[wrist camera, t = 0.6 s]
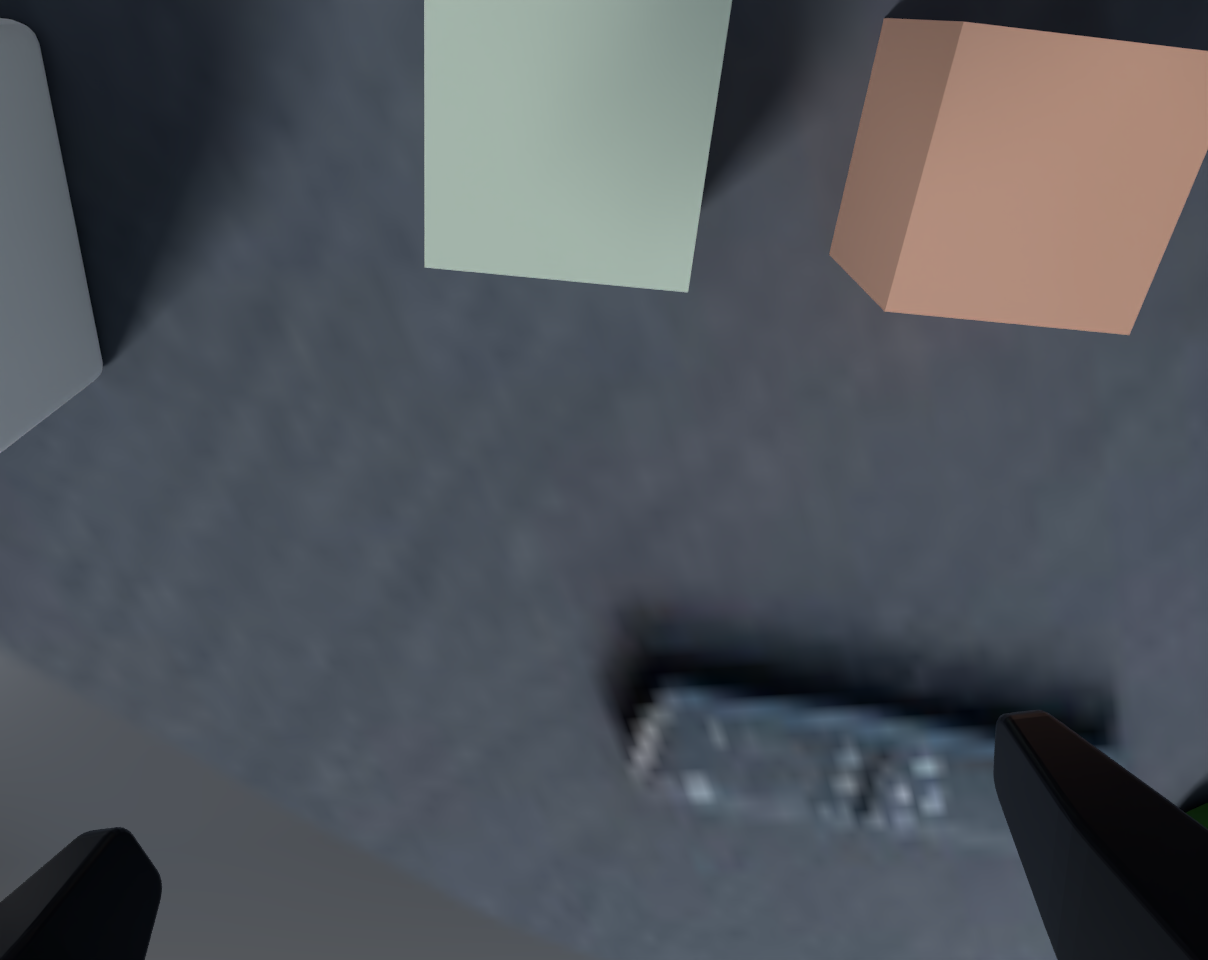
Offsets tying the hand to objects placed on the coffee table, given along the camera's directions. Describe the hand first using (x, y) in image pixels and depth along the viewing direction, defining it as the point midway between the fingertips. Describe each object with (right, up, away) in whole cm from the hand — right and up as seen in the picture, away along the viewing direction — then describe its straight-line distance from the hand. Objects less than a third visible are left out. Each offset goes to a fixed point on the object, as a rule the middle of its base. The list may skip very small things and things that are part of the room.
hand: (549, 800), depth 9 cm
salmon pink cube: (+8, +10, +9) cm, 15 cm away
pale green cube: (0, +11, +8) cm, 13 cm away
